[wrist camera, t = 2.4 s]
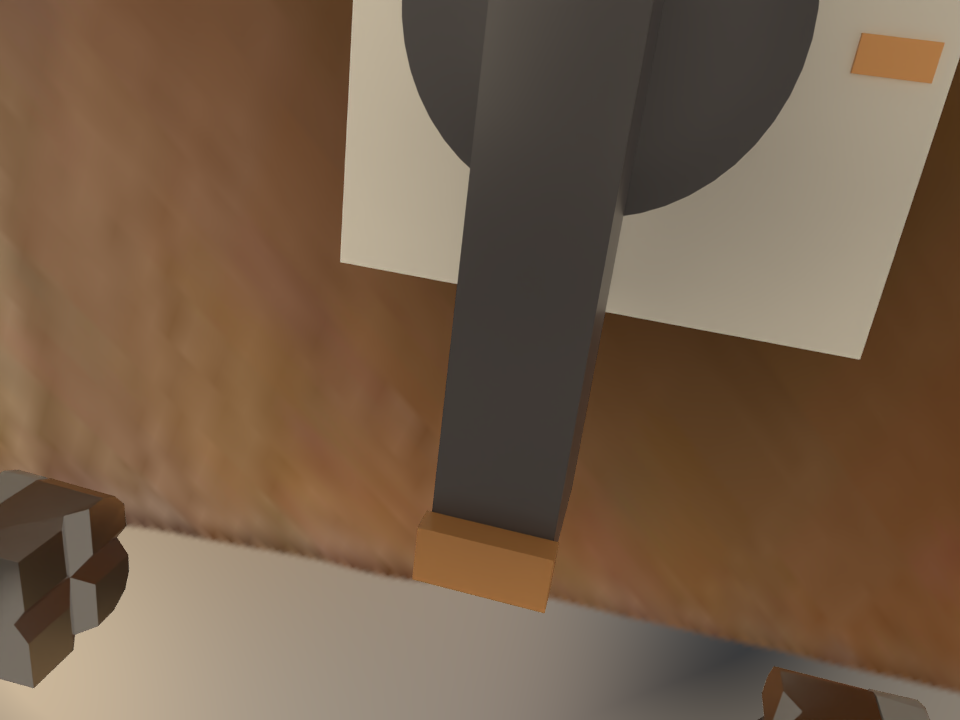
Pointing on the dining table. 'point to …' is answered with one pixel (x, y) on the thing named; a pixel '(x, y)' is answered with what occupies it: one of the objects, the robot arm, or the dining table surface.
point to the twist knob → (564, 227)
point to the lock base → (714, 208)
